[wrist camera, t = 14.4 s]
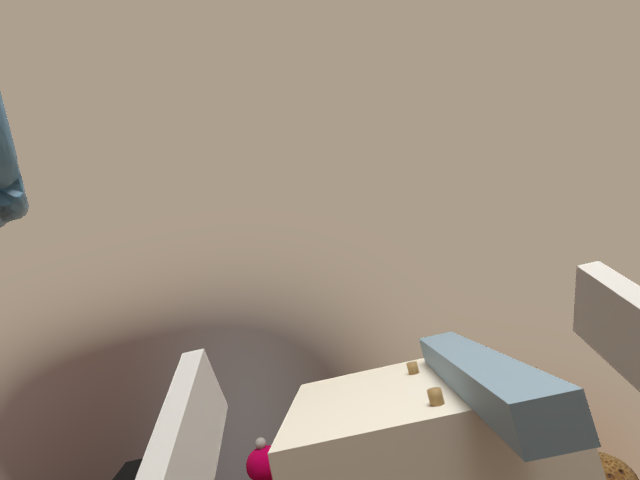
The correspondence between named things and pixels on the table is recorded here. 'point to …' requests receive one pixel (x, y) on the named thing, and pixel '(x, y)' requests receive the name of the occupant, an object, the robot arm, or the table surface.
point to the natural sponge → (616, 468)
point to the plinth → (402, 434)
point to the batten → (514, 397)
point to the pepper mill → (259, 462)
